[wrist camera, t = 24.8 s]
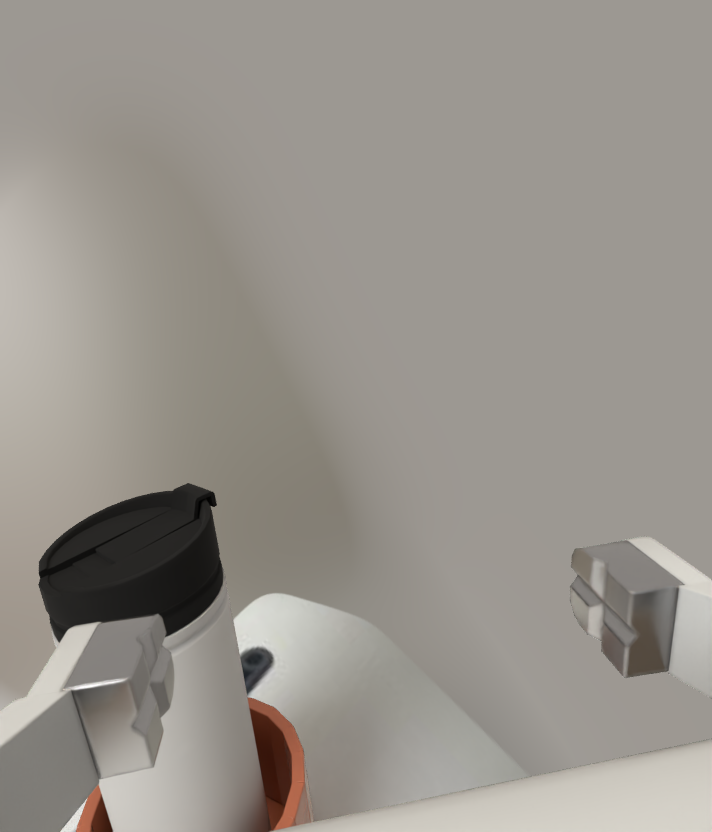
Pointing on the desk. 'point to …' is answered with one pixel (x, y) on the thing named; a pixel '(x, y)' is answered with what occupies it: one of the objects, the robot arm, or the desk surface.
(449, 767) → the desk surface
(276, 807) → the holder
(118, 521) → the travel mug
